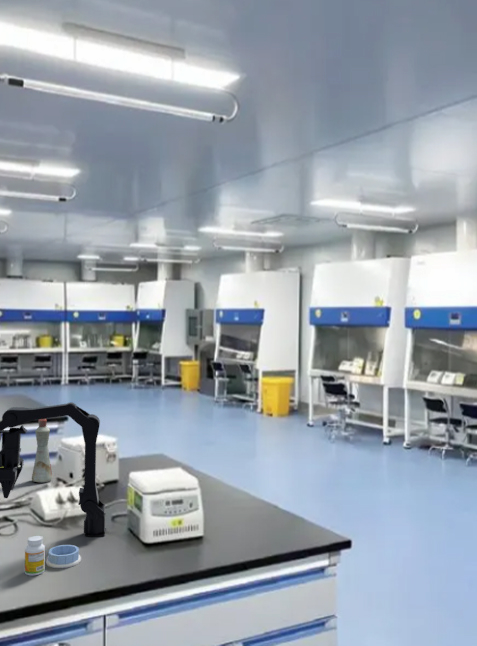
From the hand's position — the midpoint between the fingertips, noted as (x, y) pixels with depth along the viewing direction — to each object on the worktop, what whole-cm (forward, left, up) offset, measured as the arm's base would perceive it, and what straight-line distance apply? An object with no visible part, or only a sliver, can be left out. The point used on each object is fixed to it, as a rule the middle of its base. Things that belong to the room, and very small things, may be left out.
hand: (8, 493), depth 201 cm
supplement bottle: (-14, +28, -15) cm, 35 cm away
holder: (-21, +21, -15) cm, 33 cm away
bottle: (+2, -70, -15) cm, 71 cm away
